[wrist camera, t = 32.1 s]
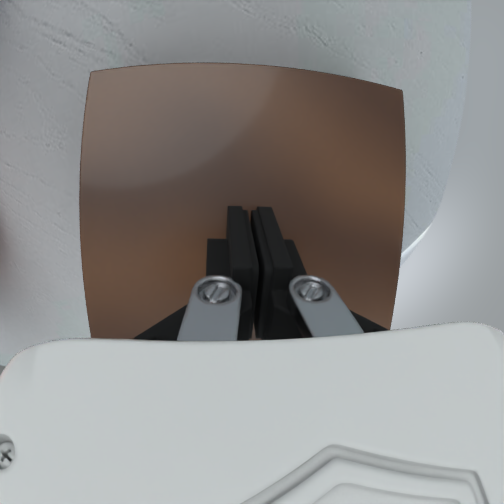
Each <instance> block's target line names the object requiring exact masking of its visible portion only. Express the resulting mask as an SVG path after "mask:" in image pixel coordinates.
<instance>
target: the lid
mask: <svg viewBox="0 0 504 504" xmlns="http://www.w3.org/2000/svg"><path fill="white" fill-rule="evenodd" d="M405 181H406V145H405V118H404V102H403V91H402V90H400V89H396V88H393V87H389V86H385V85H381V84H377V83H373V82H369V81H364V80H360V79H355V78H350V77H345V76H340V75H335V74H329V73H323V72H317V71H310V70H303V69H296V68H287V67H278V66H267V65H255V64H237V63H170V64H153V65H140V66H130V67H121V68H113V69H105V70H99V71H92V72H91V73H90V78H89V84H88V90H87V97H86V105H85V113H84V122H83V132H82V145H81V161H80V197H79V205H80V241H81V257H82V270H83V281H84V290H85V299H86V306H87V314H88V321H89V327H90V333H91V338H106V339H133V338H134V337H136V336H137V335H139V334H141V333H142V332H144V331H145V330H147V329H149V328H150V327H152V326H153V325H155V324H157V323H158V322H160V321H161V320H163V319H164V318H166V317H168V316H169V315H171V314H172V313H174V312H176V311H177V310H179V309H180V308H182V307H184V306H185V305H187V304H188V301H189V298H190V294H191V291H192V288H193V286H194V284H195V283H196V282H197V281H198V280H200V279H201V278H204V277H206V258H207V238H215V239H226V229H227V207H228V206H242V209H243V210H248V215H249V220H250V219H251V211H252V210H256V209H257V206H260V207H272V209H273V212H274V215H275V217H276V220H277V223H278V225H279V228H280V231H281V234H282V236H283V239H292V240H293V241H294V243H295V245H296V248H297V250H298V253H299V255H300V258H301V260H302V263H303V265H304V268H305V270H306V273H307V275H314V276H318V277H321V278H324V279H325V280H327V281H328V282H329V283H330V284H331V285H332V286H333V287H334V288H335V290H336V291H337V293H338V294H339V296H340V297H341V299H342V300H343V302H344V303H345V305H346V306H347V307H348V309H349V310H351V311H353V312H355V313H357V314H359V315H361V316H363V317H365V318H367V319H369V320H371V321H373V322H375V323H376V324H378V325H380V326H382V327H384V328H386V329H388V330H390V327H391V322H392V316H393V309H394V304H395V297H396V290H397V283H398V276H399V268H400V259H401V249H402V238H403V225H404V209H405ZM254 340H261V339H256V336H255V330H254V323H253V332H252V339H249V341H254Z"/></svg>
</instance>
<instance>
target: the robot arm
mask: <svg viewBox="0 0 504 504" xmlns="http://www.w3.org/2000/svg"><path fill="white" fill-rule="evenodd" d="M253 323H254V330H255V336H256V339H261V340H254V341H249V339H252V332H253ZM0 504H504V334H503V332H501V331H500V330H499V329H496V328H494V327H492V326H489V325H485V324H481V323H476V322H451V323H444V324H434V325H426V326H419V327H412V328H404V329H397V330H388V329H386V328H384V327H382V326H380V325H378V324H376V323H375V322H373V321H371V320H369V319H367V318H365V317H363V316H361V315H359V314H357V313H355V312H353V311H351V310H349V309H348V307H347V306H346V305H345V303H344V302H343V300H342V299H341V297H340V296H339V294H338V293H337V291H336V290H335V288H334V287H333V286H332V285H331V284H330V283H329V282H328V281H327V280H325V279H324V278H321V277H318V276H314V275H307V273H306V270H305V268H304V265H303V263H302V260H301V258H300V255H299V253H298V250H297V248H296V245H295V243H294V241H293V240H292V239H283V236H282V234H281V231H280V228H279V225H278V223H277V220H276V217H275V215H274V212H273V209H272V207H260V206H257V209H256V210H252V211H251V219H250V220H249V215H248V210H243V209H242V206H228V207H227V229H226V239H215V238H207V258H206V277H204V278H201V279H200V280H198V281H197V282H196V283H195V284H194V286H193V288H192V291H191V294H190V298H189V301H188V304H187V305H185V306H184V307H182V308H180V309H179V310H177V311H176V312H174V313H172V314H171V315H169V316H168V317H166V318H164V319H163V320H161V321H160V322H158V323H157V324H155V325H153V326H152V327H150V328H149V329H147V330H145V331H144V332H142V333H141V334H139V335H137V336H136V337H134V338H133V339H106V338H68V339H59V340H52V341H48V342H44V343H39V344H36V345H33V346H30V347H28V348H26V349H24V350H22V351H20V352H19V353H18V354H16V355H15V356H14V357H13V358H12V359H11V360H10V362H9V363H8V364H7V366H6V367H5V369H4V371H3V372H2V374H1V375H0Z"/></svg>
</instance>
